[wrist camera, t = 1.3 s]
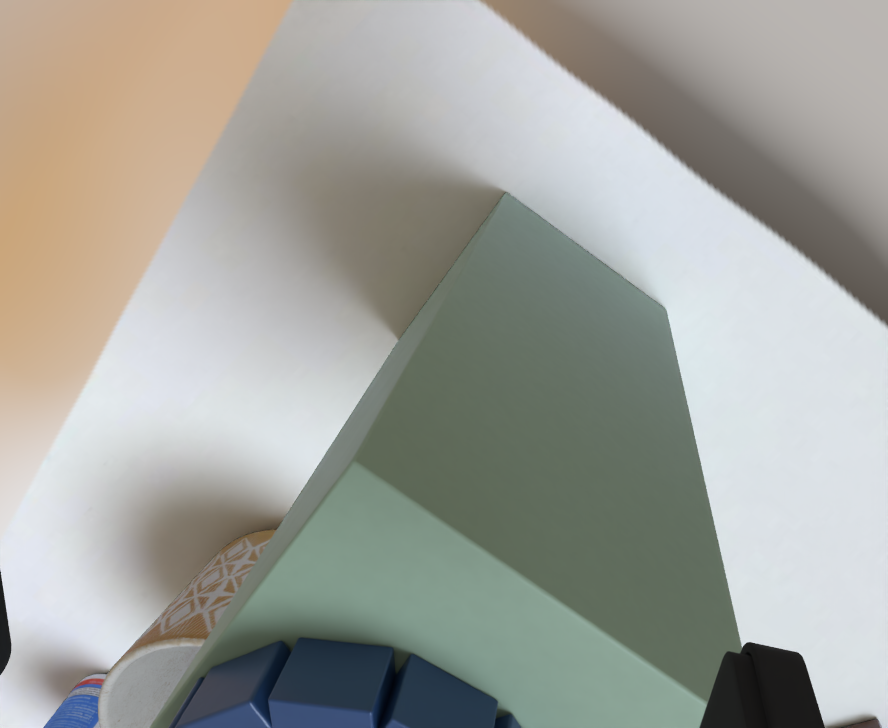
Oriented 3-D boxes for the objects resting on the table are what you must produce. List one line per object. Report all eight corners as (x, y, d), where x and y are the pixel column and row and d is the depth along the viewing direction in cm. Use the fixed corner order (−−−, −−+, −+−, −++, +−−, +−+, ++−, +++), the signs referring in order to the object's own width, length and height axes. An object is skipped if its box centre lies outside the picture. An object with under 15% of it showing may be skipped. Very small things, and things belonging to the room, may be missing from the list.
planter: (405, 524, 43) (350, 665, 34) (403, 699, 48) (355, 865, 39) (187, 495, 45) (77, 621, 36) (207, 667, 50) (115, 817, 41)
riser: (667, 309, 36) (765, 744, 14) (546, 445, 40) (478, 951, 18) (506, 191, 35) (352, 460, 14) (398, 340, 39) (141, 738, 17)
